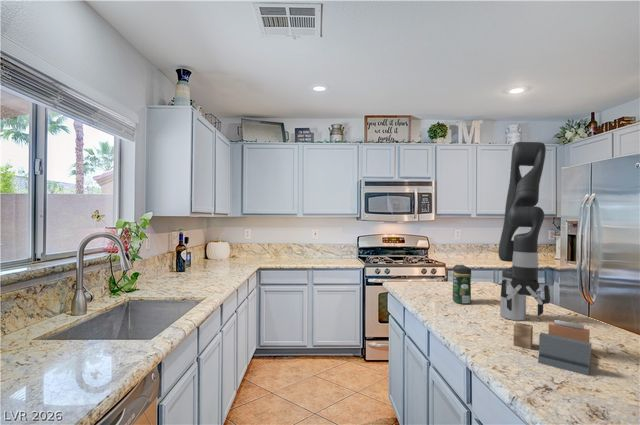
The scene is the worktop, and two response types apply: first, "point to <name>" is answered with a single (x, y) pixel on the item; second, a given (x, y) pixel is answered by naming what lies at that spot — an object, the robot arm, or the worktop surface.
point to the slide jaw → (569, 330)
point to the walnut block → (523, 335)
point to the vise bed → (564, 353)
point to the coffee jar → (461, 284)
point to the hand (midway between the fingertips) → (524, 312)
